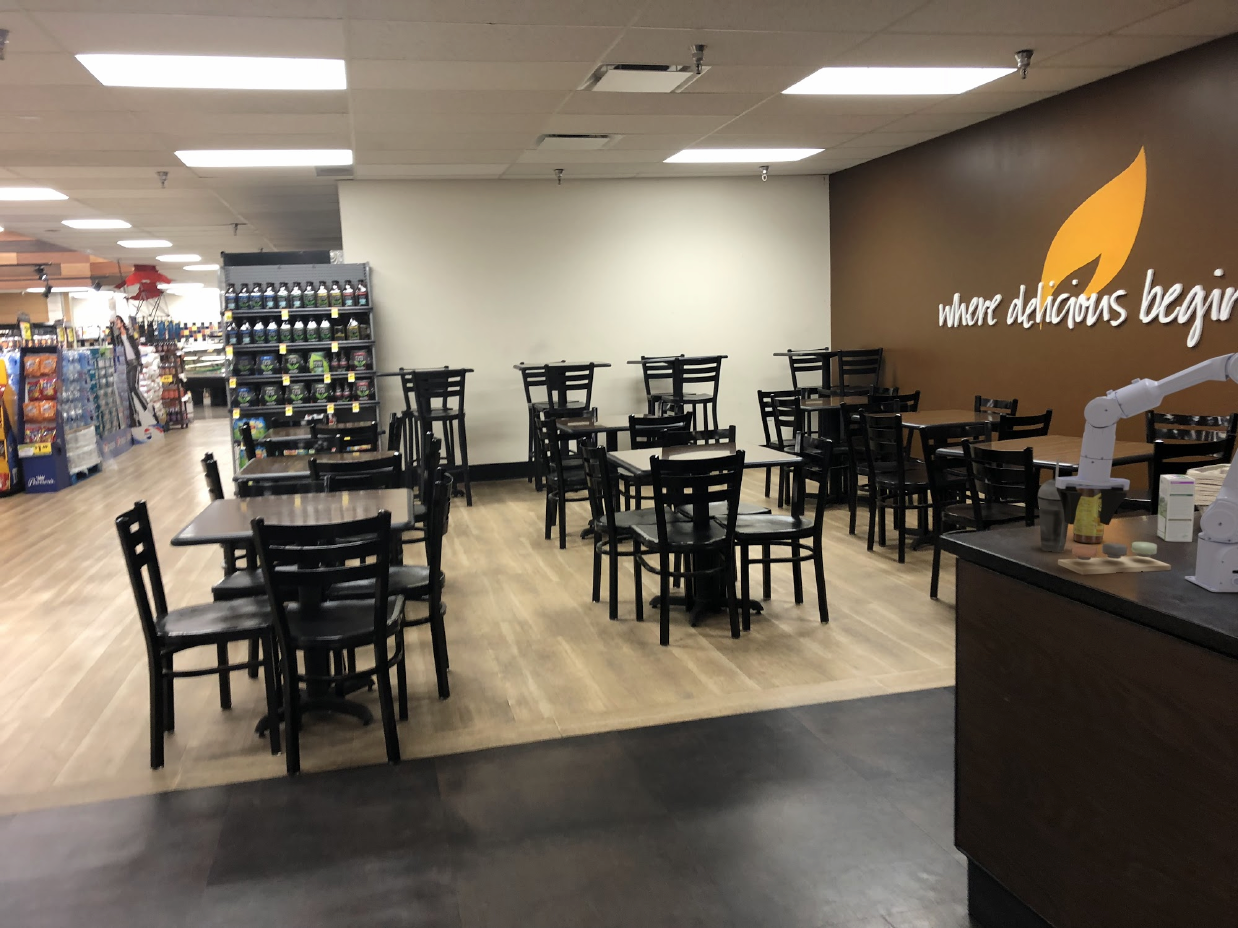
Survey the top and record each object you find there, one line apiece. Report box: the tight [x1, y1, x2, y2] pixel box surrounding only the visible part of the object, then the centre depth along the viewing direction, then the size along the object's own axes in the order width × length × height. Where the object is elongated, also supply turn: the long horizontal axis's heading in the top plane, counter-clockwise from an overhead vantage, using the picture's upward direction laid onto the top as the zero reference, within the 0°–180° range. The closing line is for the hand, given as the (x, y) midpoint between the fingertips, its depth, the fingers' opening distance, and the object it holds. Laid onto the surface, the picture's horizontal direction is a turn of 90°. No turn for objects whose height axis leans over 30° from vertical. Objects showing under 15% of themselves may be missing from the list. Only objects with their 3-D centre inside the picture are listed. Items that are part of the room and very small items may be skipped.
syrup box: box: [1156, 473, 1197, 543], centre depth 211 cm, size 6×6×14 cm
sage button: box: [1131, 541, 1158, 558], centre depth 189 cm, size 4×4×2 cm
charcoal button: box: [1101, 542, 1128, 559], centre depth 188 cm, size 4×4×2 cm
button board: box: [1057, 555, 1172, 576], centre depth 189 cm, size 19×8×1 cm, turn 97°
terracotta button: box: [1071, 543, 1098, 560], centre depth 187 cm, size 4×4×2 cm
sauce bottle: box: [1072, 488, 1105, 544], centre depth 210 cm, size 7×6×20 cm
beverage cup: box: [1036, 458, 1069, 553], centre depth 202 cm, size 7×7×20 cm
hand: (1086, 523), depth 187 cm, fingers open, 7 cm apart
